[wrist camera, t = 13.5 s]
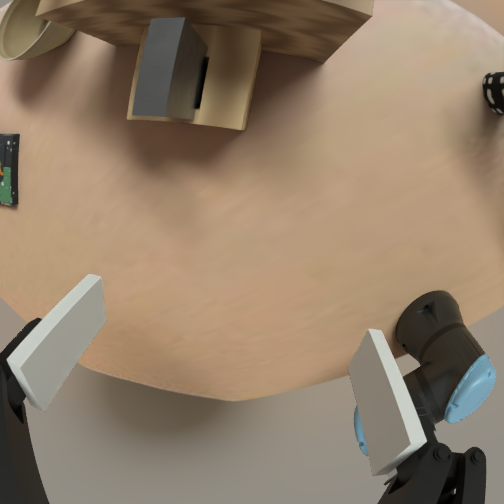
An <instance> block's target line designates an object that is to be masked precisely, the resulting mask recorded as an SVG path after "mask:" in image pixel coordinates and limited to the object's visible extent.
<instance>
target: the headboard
mask: <svg viewBox="0 0 504 504" xmlns="http://www.w3.org/2000/svg"><path fill="white" fill-rule="evenodd" d="M373 5H374V0H41V1H40V4H39V6H38V9H37V12H36V15H35V17H39V18H42V19H45V20H49V21H52V22H55V23H58V24H61V25H64V26H67V27H70V28H72V29H75V30H78V31H81V32H83V33H86V34H88V35H91V36H93V37H96V38H98V39H101V40H103V41H106V42H108V43H110V44H113V45H115V46H122V45H135V44H140V47H139V52H138V56H137V61H136V66H135V71H134V76H133V81H132V87H131V93H130V99H129V106H128V113H127V119H131V120H153V121H167V122H180V123H190V124H200V125H208V126H216V127H224V128H231V129H237V130H246V128H247V122H248V117H249V111H250V106H251V101H252V95H253V90H254V85H255V80H256V75H257V70H258V65H259V60H260V55H261V50H264V51H270V52H276V53H282V54H287V55H292V56H296V57H301V58H305V59H310V60H314V61H318V62H322V63H325V62H326V60H327V59H328V58H329V57H330V56H331V55H332V54H333V53H334V52H335V51H336V50H337V49H338V48H339V47H340V46H341V45H342V44H343V43H344V42H345V41H346V40H348V39H349V38H350V37H351V36H352V35H353V34H354V33H355V32H356V31H357V30H358V29H359V28H360V27H361V26H362V25H363V24H364V23H365V22H366V21H368V20H369V19H370V18H371V17H372V15H373ZM181 17H185V18H186V19H187V20H188V22H189V23H190V24H191V26H192V27H193V28H194V29H195V31H196V32H197V33H198V35H199V36H200V37H201V39H202V40H203V41H204V43H205V44H206V45H207V47H208V49H207V53H206V58H205V63H206V65H207V66H208V68H207V73H206V78H205V83H204V89H203V94H202V100H201V105H200V106H196V111H195V117H194V120H193V119H182V118H170V117H155V116H132V110H133V103H134V97H135V91H136V85H137V79H138V74H139V69H140V64H141V59H142V55H143V50H144V46H145V42H146V38H147V34H148V30H149V26H150V22H151V19H155V18H181Z"/></svg>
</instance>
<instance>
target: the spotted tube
mask: <svg viewBox="0 0 504 504" xmlns="http://www.w3.org/2000/svg"><path fill="white" fill-rule="evenodd" d="M483 91H484V95H485V99H486V101H487V103H488V105H489V107H490V108H491V109H492V110H493V111H494V112H495V113H497V114H499V115H504V72H495V73H488V74H487V75H486V76H485V78H484V81H483Z"/></svg>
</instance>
